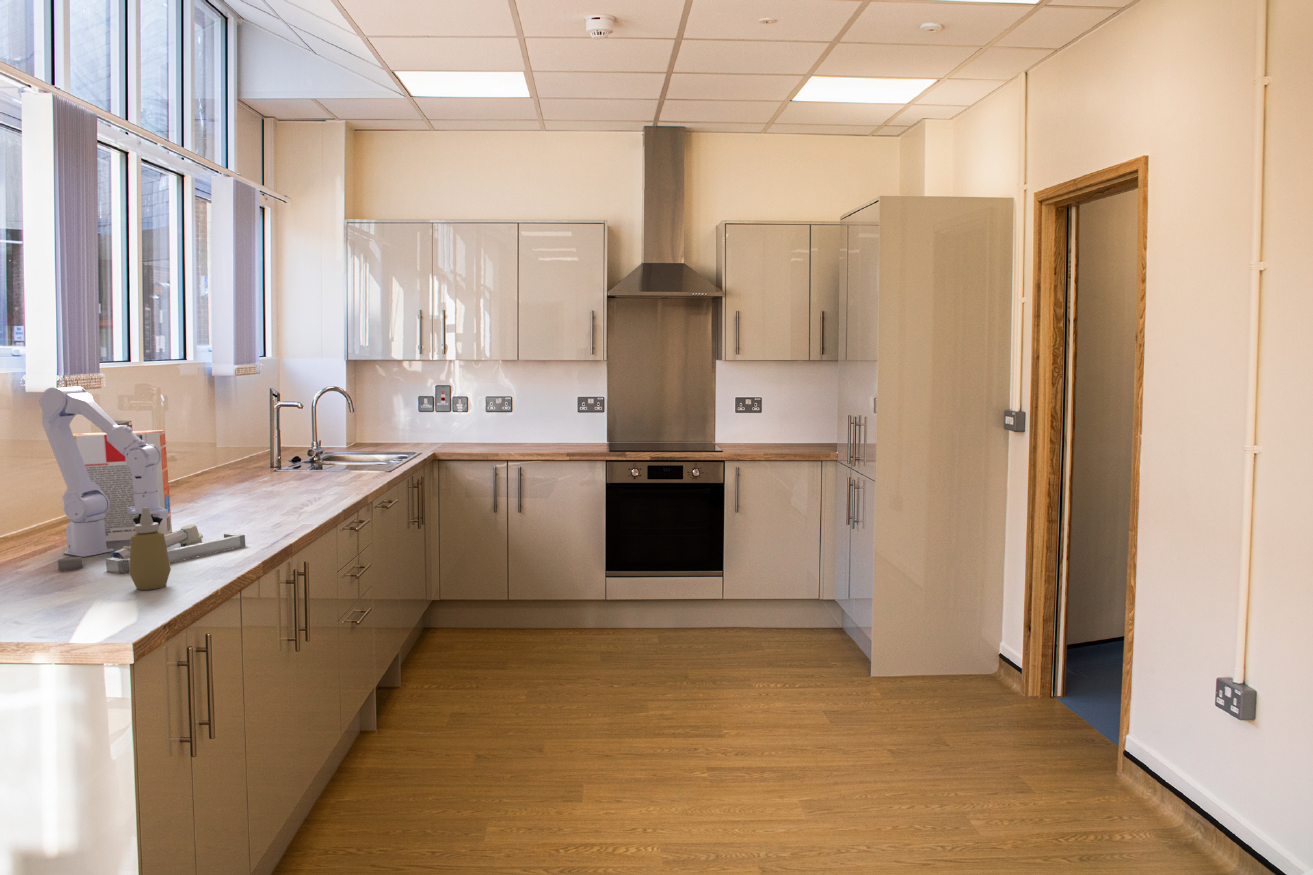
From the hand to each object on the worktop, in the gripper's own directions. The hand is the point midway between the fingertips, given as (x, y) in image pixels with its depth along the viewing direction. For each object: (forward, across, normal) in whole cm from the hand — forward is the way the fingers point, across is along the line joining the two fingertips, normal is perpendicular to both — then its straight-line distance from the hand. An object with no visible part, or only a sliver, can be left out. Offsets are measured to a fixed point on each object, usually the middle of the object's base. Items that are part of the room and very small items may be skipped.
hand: (150, 543), depth 236 cm
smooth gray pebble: (+3, -2, -19) cm, 19 cm away
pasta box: (+3, -27, +9) cm, 29 cm away
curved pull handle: (+3, +12, 0) cm, 13 cm away
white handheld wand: (+3, +4, 0) cm, 6 cm away
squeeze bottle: (+3, +34, -21) cm, 40 cm away
